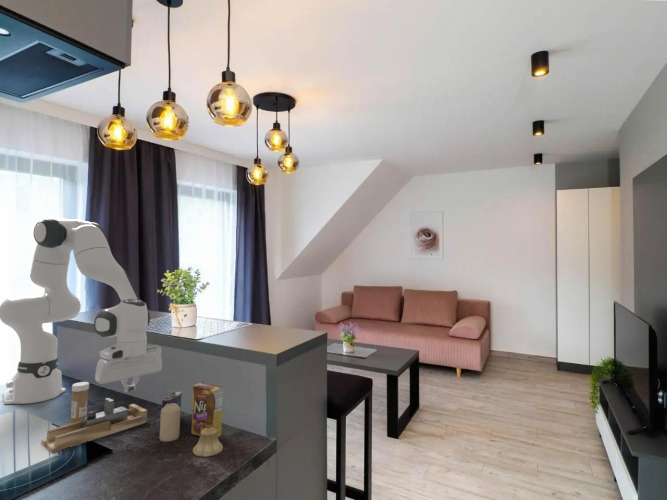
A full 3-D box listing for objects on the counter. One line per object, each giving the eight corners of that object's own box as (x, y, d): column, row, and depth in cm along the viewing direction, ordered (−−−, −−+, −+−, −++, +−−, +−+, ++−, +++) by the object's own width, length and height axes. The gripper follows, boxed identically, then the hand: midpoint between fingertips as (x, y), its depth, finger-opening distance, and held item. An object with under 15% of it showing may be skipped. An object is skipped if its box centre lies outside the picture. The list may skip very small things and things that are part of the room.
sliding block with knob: (80, 431, 113) (81, 404, 113) (121, 418, 123) (122, 394, 123) (85, 434, 111) (87, 407, 111) (127, 421, 120) (128, 396, 121)
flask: (175, 417, 128) (177, 385, 128) (183, 418, 128) (185, 386, 128) (159, 428, 119) (160, 394, 119) (167, 429, 118) (169, 395, 119)
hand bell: (207, 440, 112) (210, 386, 113) (229, 447, 109) (231, 391, 109) (186, 452, 105) (188, 395, 105) (208, 459, 101) (211, 400, 102)
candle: (169, 443, 110) (171, 409, 110) (155, 439, 111) (157, 406, 112) (183, 435, 115) (184, 402, 115) (169, 432, 117) (170, 400, 117)
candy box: (190, 434, 115) (192, 385, 116) (200, 429, 119) (202, 381, 120) (211, 441, 112) (214, 390, 112) (221, 435, 116) (224, 386, 116)
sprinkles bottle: (86, 427, 118) (89, 384, 119) (69, 430, 116) (71, 386, 116) (86, 422, 122) (89, 380, 122) (69, 424, 119) (72, 382, 120)
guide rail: (41, 443, 107) (42, 428, 107) (133, 415, 128) (133, 403, 128) (52, 453, 102) (53, 438, 102) (146, 422, 123) (147, 410, 123)
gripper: (157, 342, 134) (155, 381, 133) (94, 352, 117) (91, 397, 116) (166, 345, 130) (164, 385, 129) (103, 355, 113) (100, 401, 113)
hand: (129, 391), depth 123 cm, fingers closed
